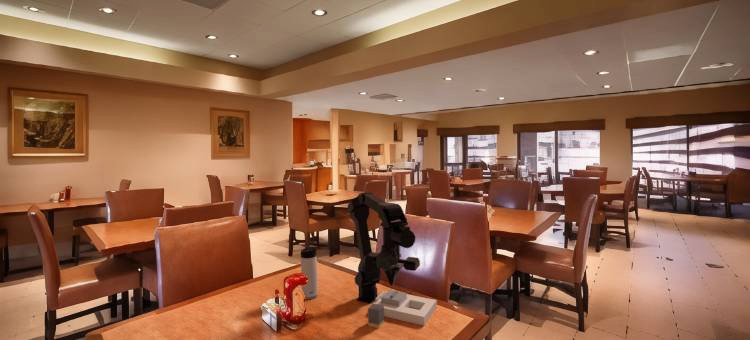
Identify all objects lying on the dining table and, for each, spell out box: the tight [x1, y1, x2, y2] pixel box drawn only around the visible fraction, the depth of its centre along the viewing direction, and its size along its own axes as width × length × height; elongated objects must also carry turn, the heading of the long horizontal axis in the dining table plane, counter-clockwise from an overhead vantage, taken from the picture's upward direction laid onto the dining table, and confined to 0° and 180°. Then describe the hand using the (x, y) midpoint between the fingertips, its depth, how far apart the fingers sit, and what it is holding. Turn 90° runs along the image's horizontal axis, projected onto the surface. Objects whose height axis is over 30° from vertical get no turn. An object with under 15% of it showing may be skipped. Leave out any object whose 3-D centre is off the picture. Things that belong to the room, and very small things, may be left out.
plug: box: [367, 303, 385, 329], centre depth 116 cm, size 4×4×6 cm
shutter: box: [381, 289, 408, 306], centre depth 127 cm, size 7×7×3 cm
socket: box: [372, 290, 438, 326], centre depth 126 cm, size 20×14×4 cm
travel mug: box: [300, 246, 319, 301], centre depth 139 cm, size 6×7×20 cm
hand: (391, 285), depth 119 cm, fingers closed
